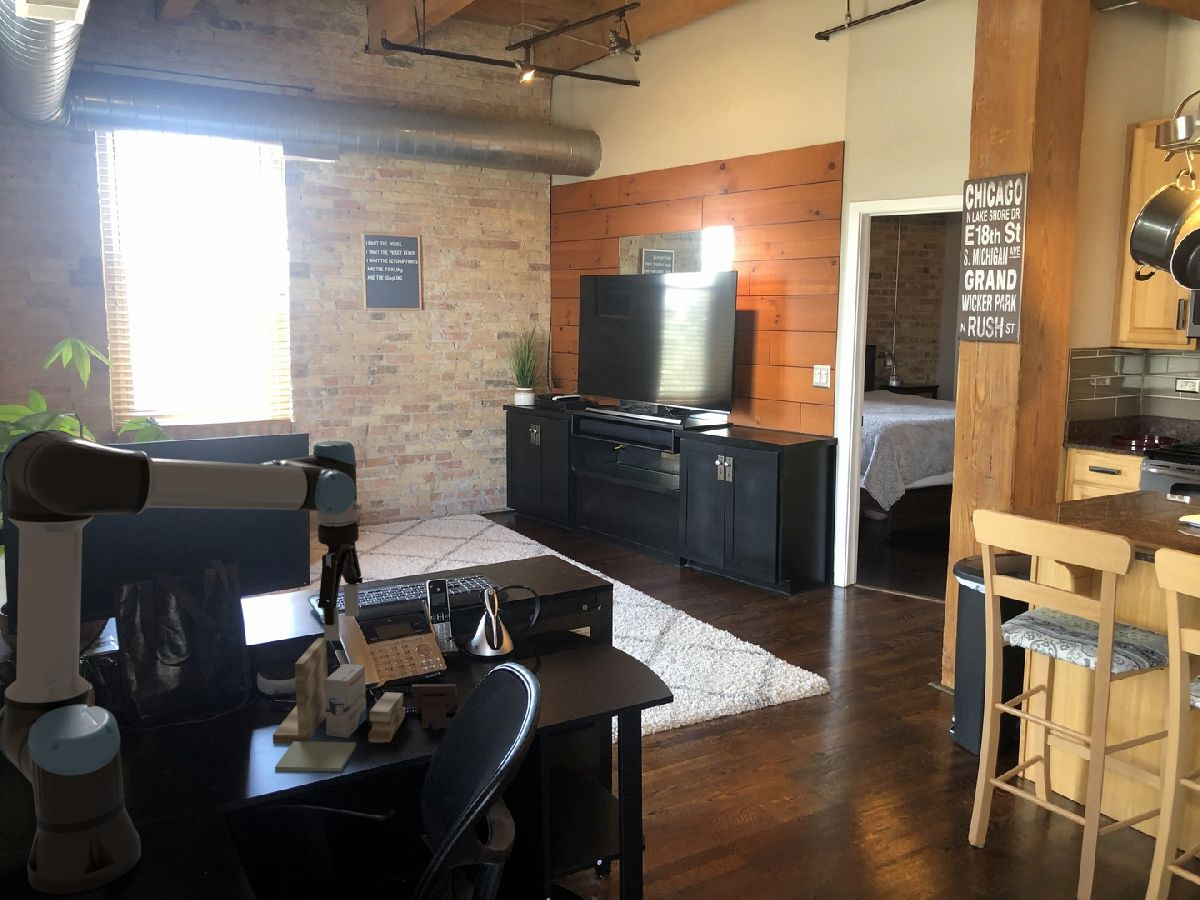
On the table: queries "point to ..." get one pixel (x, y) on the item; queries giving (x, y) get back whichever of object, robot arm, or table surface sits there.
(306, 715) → the wooden bookend
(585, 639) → the table surface
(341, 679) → the ink box
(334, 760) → the sage mat
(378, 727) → the offcut stack
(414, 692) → the portable electronic device stand
